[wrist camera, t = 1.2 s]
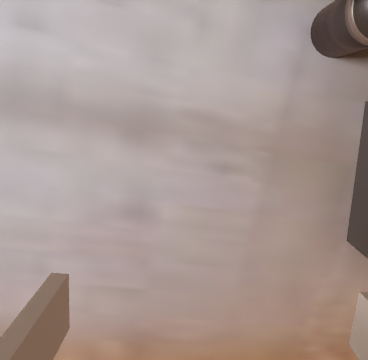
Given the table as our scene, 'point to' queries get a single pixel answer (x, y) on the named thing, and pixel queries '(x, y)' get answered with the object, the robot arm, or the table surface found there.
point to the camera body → (360, 195)
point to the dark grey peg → (341, 28)
